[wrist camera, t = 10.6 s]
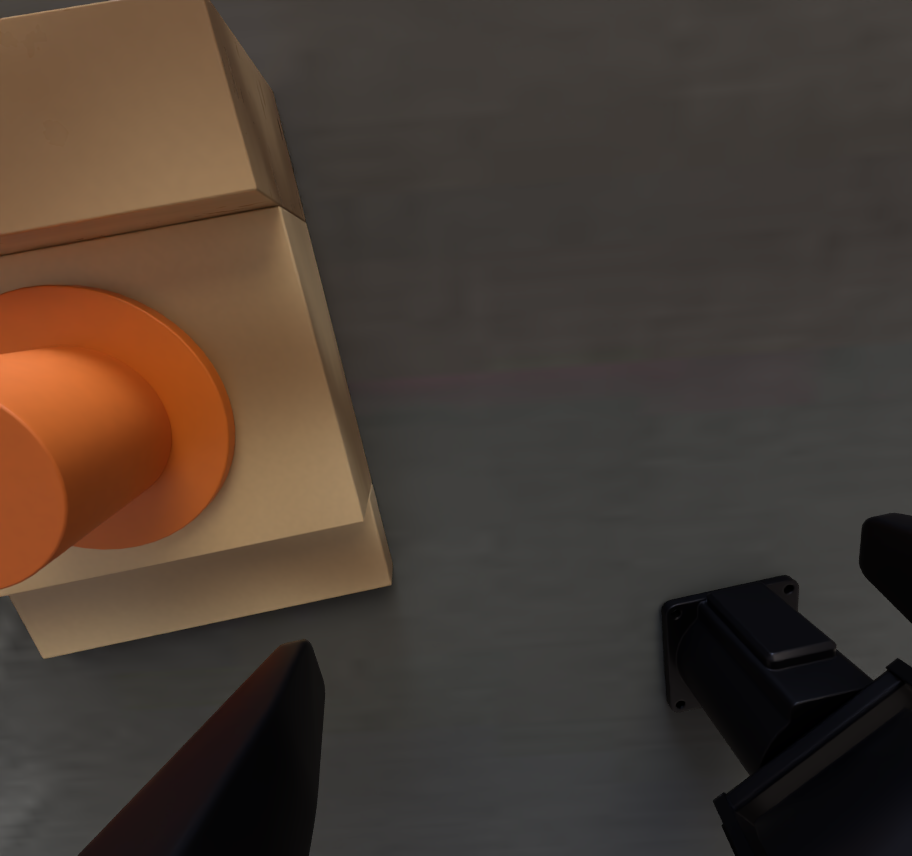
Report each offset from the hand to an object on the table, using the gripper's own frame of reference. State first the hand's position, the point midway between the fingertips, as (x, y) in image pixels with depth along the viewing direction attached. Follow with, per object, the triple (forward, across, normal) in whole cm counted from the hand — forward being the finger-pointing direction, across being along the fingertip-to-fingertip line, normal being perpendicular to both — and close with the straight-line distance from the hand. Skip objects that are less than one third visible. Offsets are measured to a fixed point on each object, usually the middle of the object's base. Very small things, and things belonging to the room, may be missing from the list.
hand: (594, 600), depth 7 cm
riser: (+12, +12, -3) cm, 17 cm away
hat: (+8, +12, -3) cm, 15 cm away
